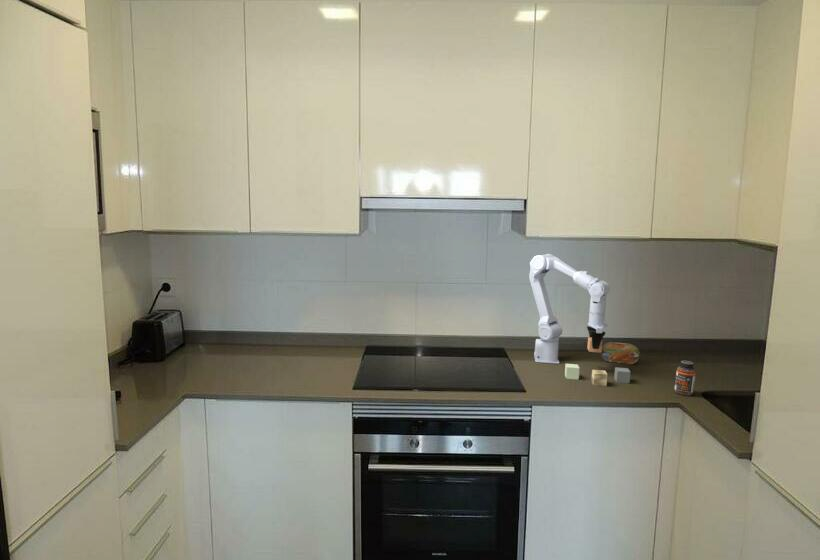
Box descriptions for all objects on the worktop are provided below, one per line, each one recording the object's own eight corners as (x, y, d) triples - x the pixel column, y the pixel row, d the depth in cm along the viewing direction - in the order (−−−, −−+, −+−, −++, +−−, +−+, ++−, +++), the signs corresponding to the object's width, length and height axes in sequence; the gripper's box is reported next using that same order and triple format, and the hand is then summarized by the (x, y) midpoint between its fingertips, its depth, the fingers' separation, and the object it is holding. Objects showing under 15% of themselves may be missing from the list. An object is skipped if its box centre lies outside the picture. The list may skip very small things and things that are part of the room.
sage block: (566, 378, 198) (566, 367, 197) (564, 374, 202) (565, 363, 202) (578, 379, 197) (579, 368, 197) (576, 375, 202) (577, 364, 201)
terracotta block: (589, 351, 204) (590, 340, 203) (587, 348, 208) (588, 337, 208) (601, 352, 203) (602, 341, 203) (599, 349, 208) (600, 338, 207)
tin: (600, 361, 220) (601, 341, 219) (599, 359, 223) (601, 339, 222) (639, 365, 216) (641, 345, 214) (638, 363, 219) (640, 343, 217)
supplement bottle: (672, 393, 185) (676, 362, 183) (675, 388, 190) (678, 358, 188) (692, 397, 182) (695, 365, 180) (694, 392, 187) (697, 361, 185)
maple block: (593, 385, 192) (594, 373, 191) (591, 381, 196) (592, 369, 195) (606, 386, 191) (607, 374, 190) (604, 382, 195) (605, 370, 195)
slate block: (616, 382, 195) (617, 371, 194) (614, 378, 199) (615, 367, 199) (629, 383, 194) (630, 372, 194) (626, 379, 199) (627, 368, 198)
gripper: (612, 317, 196) (608, 352, 198) (604, 309, 210) (601, 342, 212) (592, 316, 197) (589, 351, 199) (586, 308, 211) (583, 341, 213)
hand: (594, 346), depth 206 cm, fingers closed on terracotta block, 4 cm apart
